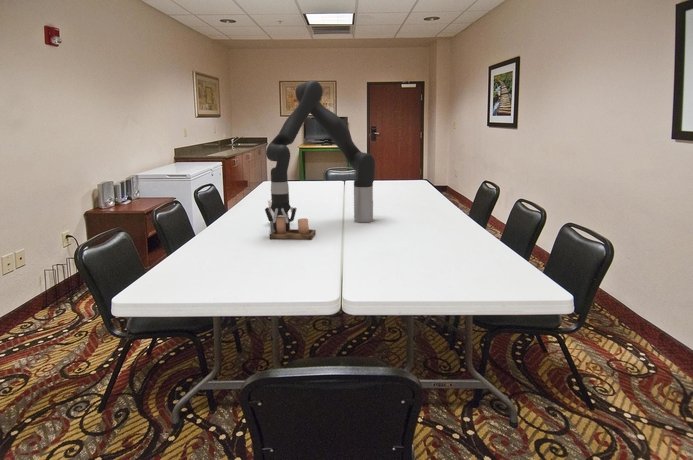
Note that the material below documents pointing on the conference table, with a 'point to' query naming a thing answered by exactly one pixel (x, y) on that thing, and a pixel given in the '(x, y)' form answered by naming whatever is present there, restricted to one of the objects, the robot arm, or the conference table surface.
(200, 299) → the conference table surface
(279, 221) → the clay cylinder
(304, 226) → the clay cylinder
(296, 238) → the tray
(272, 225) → the grey block
